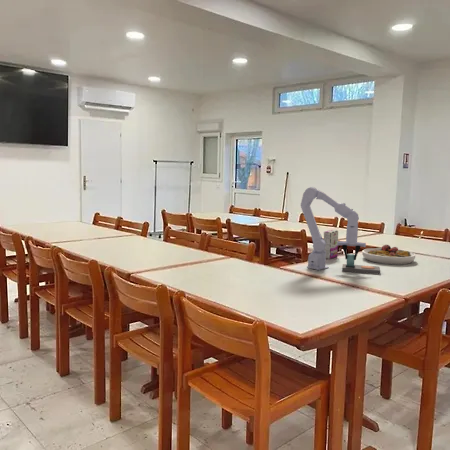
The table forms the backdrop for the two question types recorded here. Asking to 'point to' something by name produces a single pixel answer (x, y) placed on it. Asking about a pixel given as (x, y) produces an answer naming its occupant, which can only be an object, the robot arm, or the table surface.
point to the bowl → (388, 255)
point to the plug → (350, 260)
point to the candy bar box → (331, 243)
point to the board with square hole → (360, 269)
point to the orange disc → (367, 267)
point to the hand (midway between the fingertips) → (350, 259)
